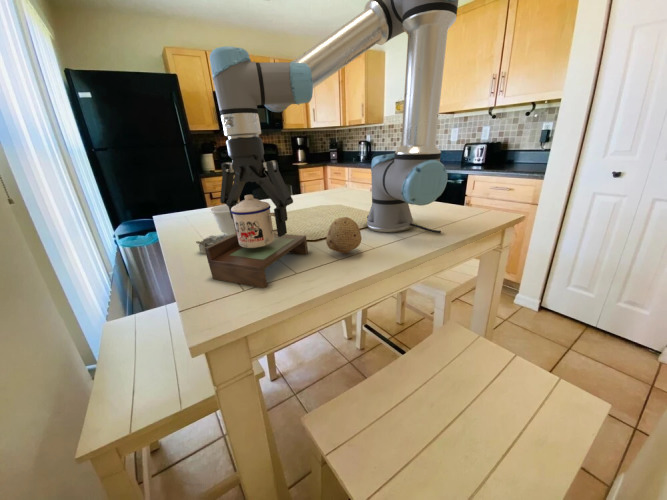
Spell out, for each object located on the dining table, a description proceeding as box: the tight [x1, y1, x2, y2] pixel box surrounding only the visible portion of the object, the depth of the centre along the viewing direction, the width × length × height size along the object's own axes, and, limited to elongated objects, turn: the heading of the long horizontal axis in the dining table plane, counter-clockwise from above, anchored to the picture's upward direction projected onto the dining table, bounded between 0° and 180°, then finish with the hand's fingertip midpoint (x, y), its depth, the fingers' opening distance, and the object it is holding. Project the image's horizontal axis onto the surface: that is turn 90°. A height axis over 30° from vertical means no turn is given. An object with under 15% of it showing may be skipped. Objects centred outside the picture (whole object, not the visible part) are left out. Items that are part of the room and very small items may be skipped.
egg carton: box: [195, 234, 233, 255], centre depth 82 cm, size 11×8×4 cm
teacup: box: [209, 204, 237, 235], centre depth 92 cm, size 12×15×10 cm
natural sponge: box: [325, 216, 362, 255], centre depth 71 cm, size 9×9×10 cm
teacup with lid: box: [231, 194, 278, 248], centre depth 65 cm, size 12×9×12 cm
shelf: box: [205, 233, 309, 289], centre depth 68 cm, size 15×20×8 cm
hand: (260, 233), depth 66 cm, fingers closed on teacup with lid, 12 cm apart
